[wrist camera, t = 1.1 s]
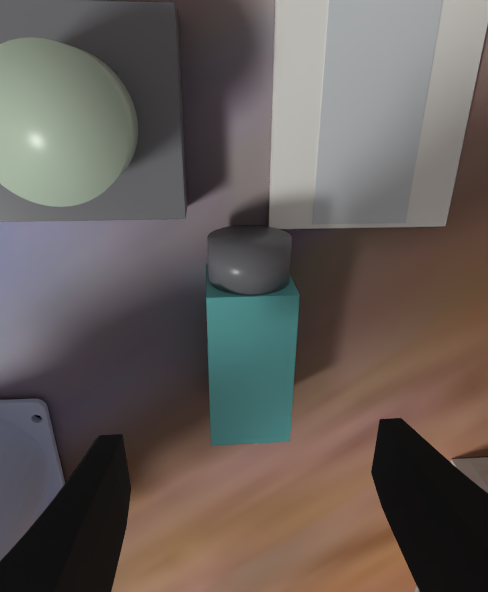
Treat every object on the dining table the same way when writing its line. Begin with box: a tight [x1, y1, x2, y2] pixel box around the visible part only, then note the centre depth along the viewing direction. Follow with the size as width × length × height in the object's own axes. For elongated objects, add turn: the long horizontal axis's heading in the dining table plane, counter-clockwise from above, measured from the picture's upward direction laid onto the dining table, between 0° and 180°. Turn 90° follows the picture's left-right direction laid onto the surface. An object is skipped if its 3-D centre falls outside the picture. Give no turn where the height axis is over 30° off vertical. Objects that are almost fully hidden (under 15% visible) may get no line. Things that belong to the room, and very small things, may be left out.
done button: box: [0, 37, 138, 207], centre depth 14 cm, size 4×4×3 cm
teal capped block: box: [206, 225, 300, 446], centre depth 20 cm, size 9×4×4 cm, turn 0°
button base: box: [0, 0, 187, 222], centre depth 16 cm, size 7×7×2 cm
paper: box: [269, 0, 488, 229], centre depth 18 cm, size 9×8×1 cm
